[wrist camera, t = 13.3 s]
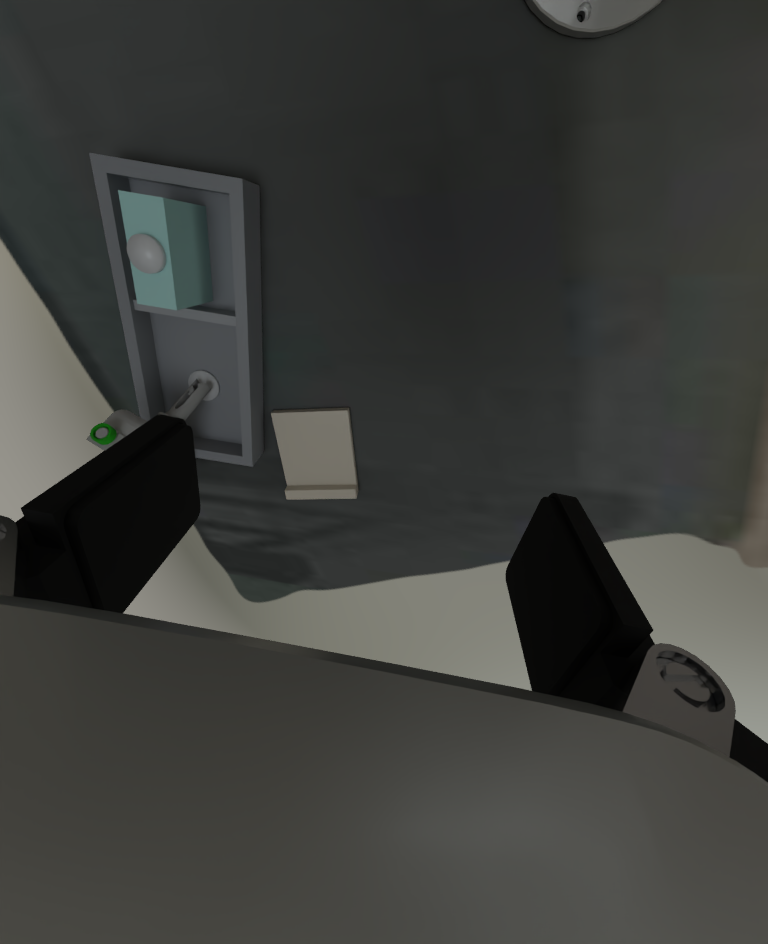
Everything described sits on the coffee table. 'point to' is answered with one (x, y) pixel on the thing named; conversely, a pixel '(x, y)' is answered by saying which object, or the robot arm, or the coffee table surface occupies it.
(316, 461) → the lid plate
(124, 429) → the mechanical component
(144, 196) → the housing
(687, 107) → the coffee table surface
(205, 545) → the coffee table surface
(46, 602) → the robot arm
